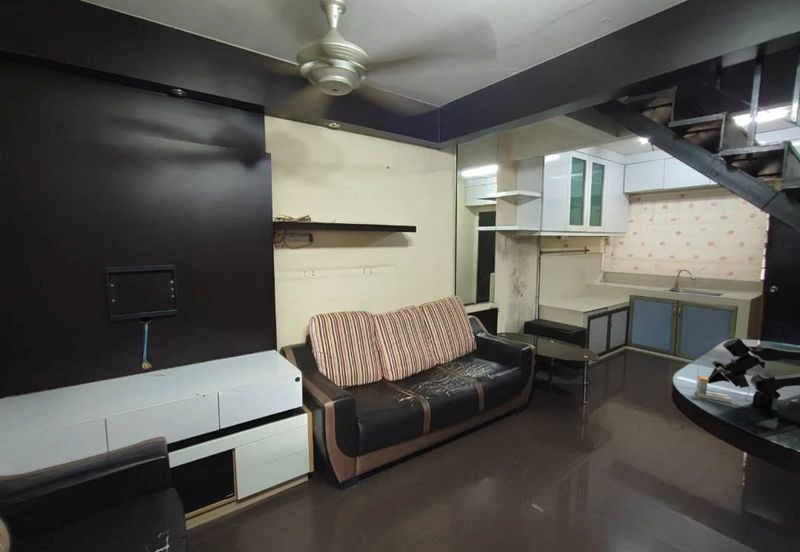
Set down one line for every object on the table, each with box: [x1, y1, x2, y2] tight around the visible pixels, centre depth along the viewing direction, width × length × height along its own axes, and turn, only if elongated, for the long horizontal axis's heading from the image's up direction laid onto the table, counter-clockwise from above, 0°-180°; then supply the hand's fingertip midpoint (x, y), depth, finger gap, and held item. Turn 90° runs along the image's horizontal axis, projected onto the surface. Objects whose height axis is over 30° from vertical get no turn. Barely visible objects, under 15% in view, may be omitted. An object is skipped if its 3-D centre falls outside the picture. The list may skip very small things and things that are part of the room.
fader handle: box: [696, 374, 710, 393], centre depth 165 cm, size 3×5×7 cm, turn 151°
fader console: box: [695, 388, 733, 403], centre depth 163 cm, size 12×6×2 cm, turn 61°
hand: (707, 382), depth 164 cm, fingers closed
